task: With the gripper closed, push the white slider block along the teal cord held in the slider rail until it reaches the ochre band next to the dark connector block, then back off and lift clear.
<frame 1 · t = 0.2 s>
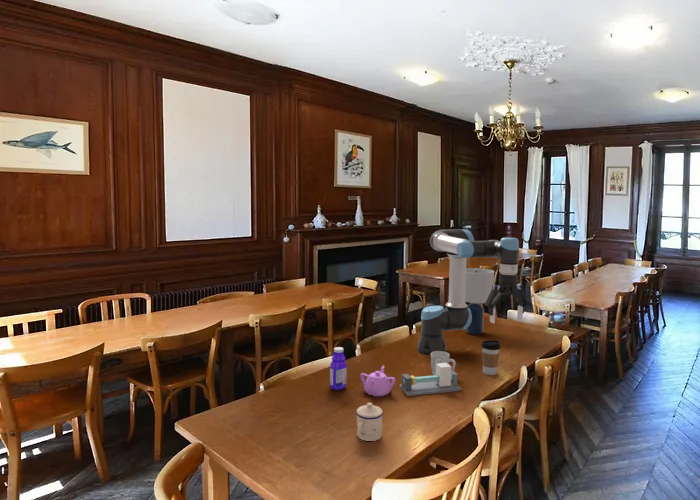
hand: (506, 321, 209), 28 cm above the table, fingers open, 13 cm apart
teacup with lid: (367, 438, 162), on the table
slider rail: (430, 388, 204), on the table
teapot: (377, 392, 200), on the table
lamp: (474, 333, 290), on the table
mug: (442, 375, 220), on the table
bottle: (338, 388, 204), on the table
coffee cup: (489, 373, 223), on the table
white slider block: (443, 374, 205), point 6 cm above the table, slide at -6.0 cm
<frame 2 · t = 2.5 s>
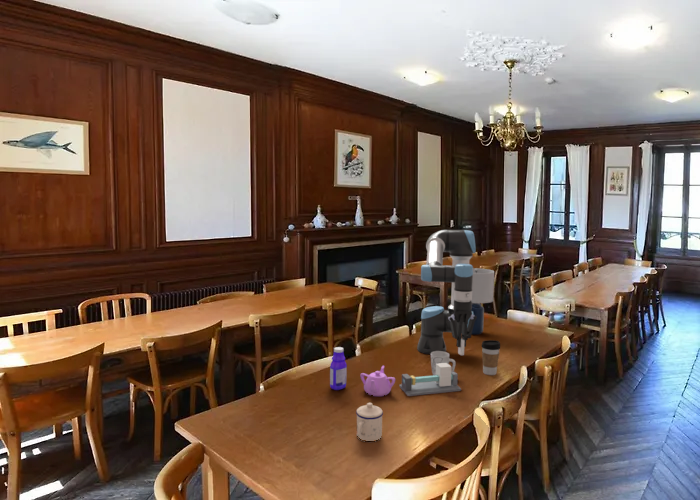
hand: (461, 354, 206), 14 cm above the table, fingers closed
nothing on the table moved.
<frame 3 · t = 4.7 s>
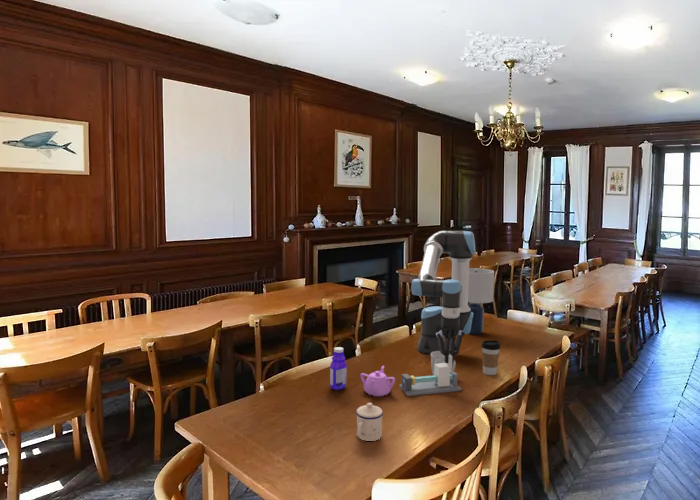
hand: (448, 369, 205), 8 cm above the table, fingers closed
white slider block: (441, 374, 205), point 6 cm above the table, slide at -5.3 cm, touching gripper
everything else where it was.
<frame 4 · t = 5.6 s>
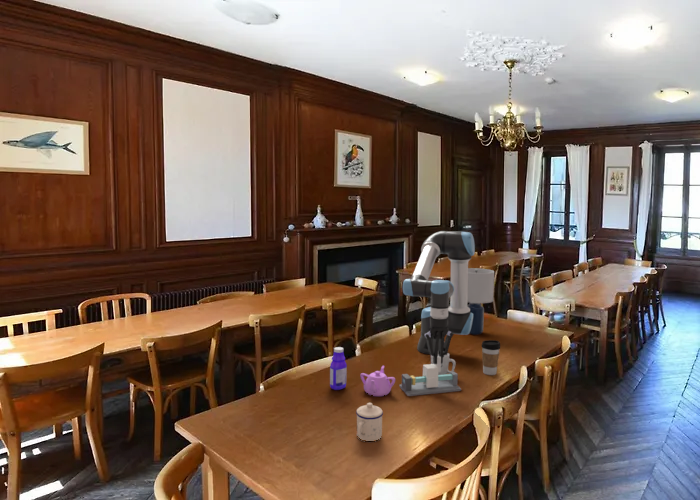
hand: (437, 370, 204), 8 cm above the table, fingers closed
white slider block: (430, 375, 204), point 6 cm above the table, slide at 0.0 cm, touching gripper
everything else where it was.
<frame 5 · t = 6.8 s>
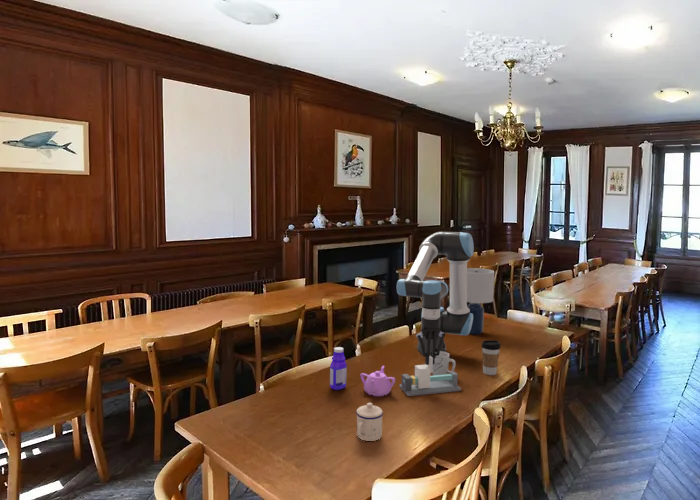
hand: (429, 371, 203), 8 cm above the table, fingers closed
white slider block: (422, 376, 203), point 6 cm above the table, slide at 3.7 cm, touching gripper
everything else where it was.
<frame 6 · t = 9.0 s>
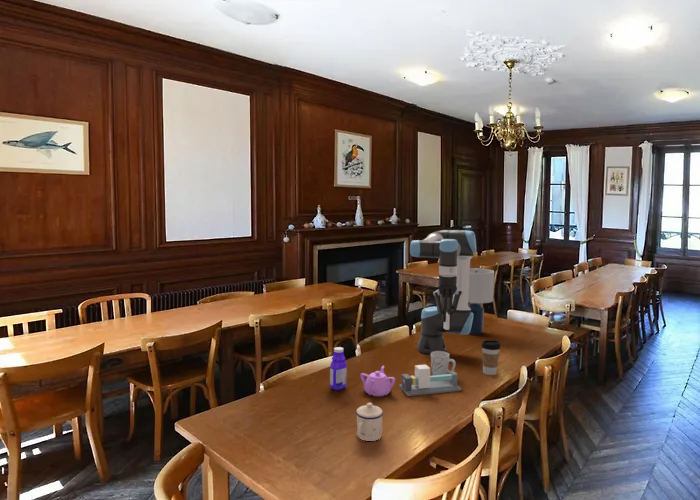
hand: (446, 328, 207), 25 cm above the table, fingers closed
white slider block: (422, 376, 203), point 6 cm above the table, slide at 3.7 cm
everything else where it was.
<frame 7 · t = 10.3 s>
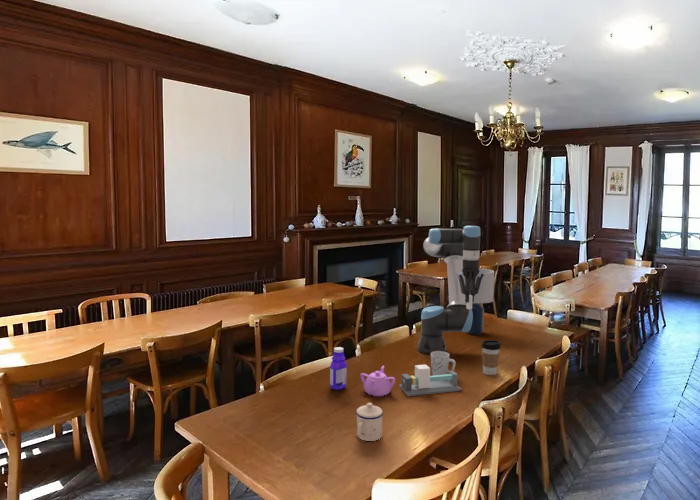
hand: (469, 308, 225), 29 cm above the table, fingers closed
nothing on the table moved.
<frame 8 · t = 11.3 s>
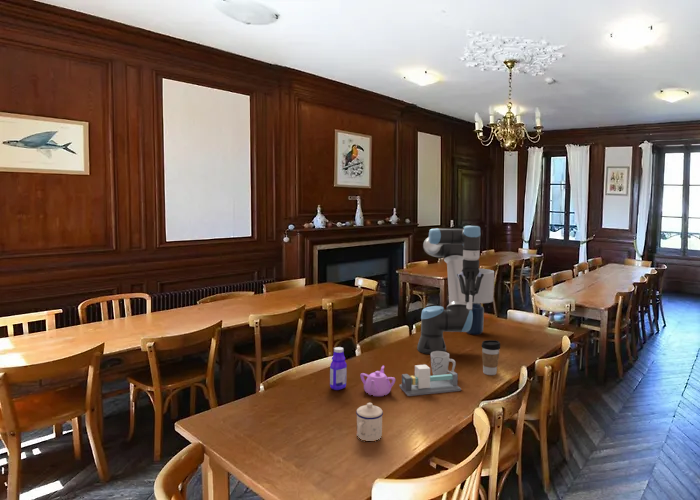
hand: (469, 308, 225), 29 cm above the table, fingers closed
nothing on the table moved.
at the end: white slider block slide at 3.7 cm; the gripper is holding nothing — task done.
